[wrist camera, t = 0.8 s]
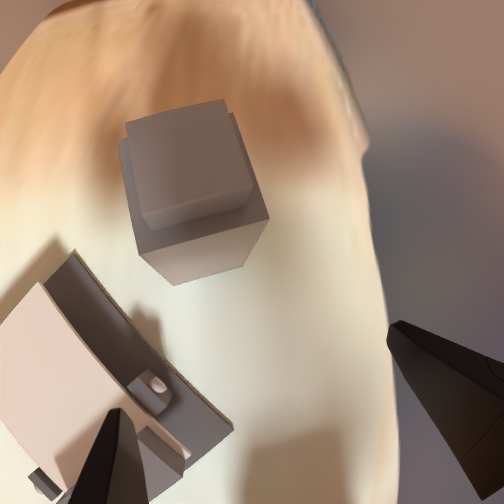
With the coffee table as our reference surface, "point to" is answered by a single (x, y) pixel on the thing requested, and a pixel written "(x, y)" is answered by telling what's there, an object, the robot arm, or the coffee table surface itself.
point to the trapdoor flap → (70, 398)
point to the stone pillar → (191, 192)
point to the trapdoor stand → (130, 367)
